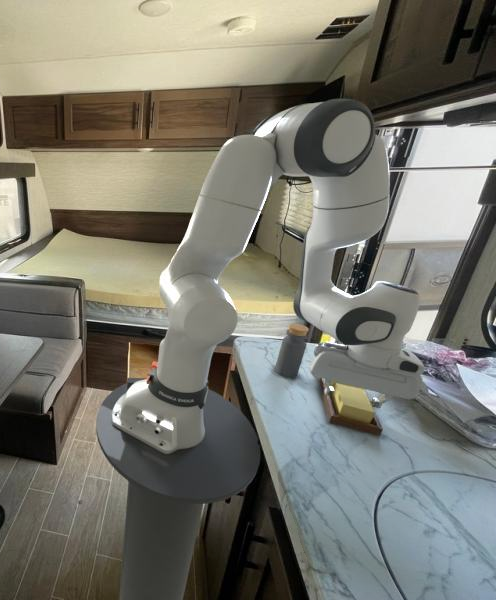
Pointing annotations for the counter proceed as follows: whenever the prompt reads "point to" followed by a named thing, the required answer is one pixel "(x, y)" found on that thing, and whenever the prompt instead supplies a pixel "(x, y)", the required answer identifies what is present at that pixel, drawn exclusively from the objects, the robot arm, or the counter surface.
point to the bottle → (292, 351)
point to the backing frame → (370, 428)
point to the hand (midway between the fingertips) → (350, 399)
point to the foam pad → (352, 403)
